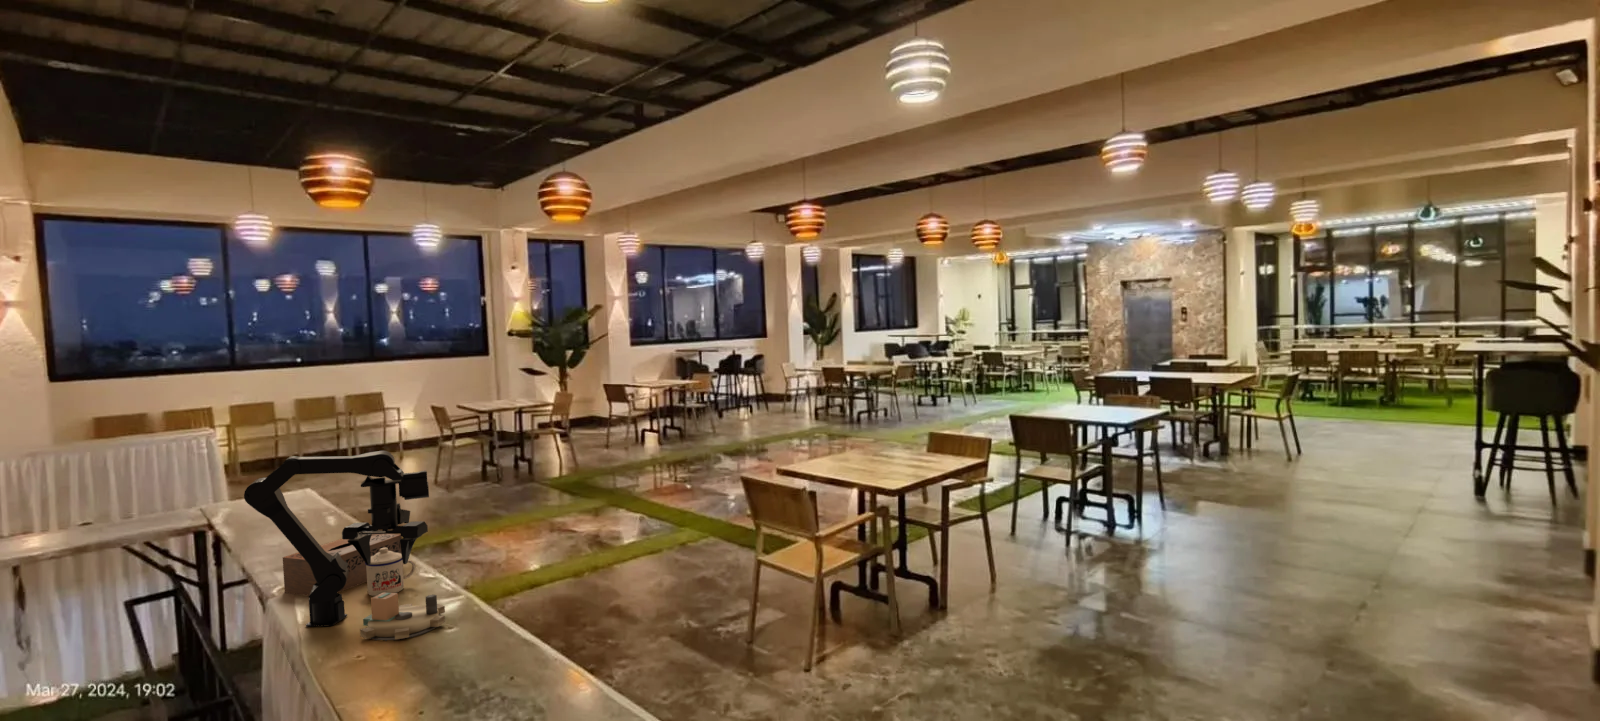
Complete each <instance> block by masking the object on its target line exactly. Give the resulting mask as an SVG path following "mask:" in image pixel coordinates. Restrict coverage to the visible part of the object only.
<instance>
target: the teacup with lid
mask: <svg viewBox="0 0 1600 721" xmlns="http://www.w3.org/2000/svg"><path fill="white" fill-rule="evenodd" d="M365 564H366V563H365ZM407 564H411V566H412V567H411V571H410V572H409V573H408V574H405V575H404V564H403V560H402V554H400V553H395V552H392V551H388V548H381V549H380V552H378V553H376V554H375V555H374V556H371V564H370V565H366V571H367V582H366V583H367V584H366V585H367V586H366V587H367V594H368V595H369V596H372V597H375V596H377V595H379V594H381V593H383V592H386V593H399V592H401V591H402V590H403V589H404V587H405V583H404V582H405V581H404V580H405V579H409V578H410V577H412V576H413V575H414V573H415V571H416V566H417V565H416V563H415V562H414V561H413V560H411V559H408V562H407Z"/></svg>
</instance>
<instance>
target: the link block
mask: <svg viewBox="0 0 1600 721" xmlns="http://www.w3.org/2000/svg"><path fill="white" fill-rule="evenodd" d="M370 606H371V609H370V610H371V614H372V619H376V620H388V619H390V618H392V617H394V616H396V615H397V614H399V592H397V593H386V592H383V593H381V594H379V595H377V596H372V597H370Z"/></svg>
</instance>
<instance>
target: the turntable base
mask: <svg viewBox="0 0 1600 721" xmlns="http://www.w3.org/2000/svg"><path fill="white" fill-rule="evenodd" d="M434 628H435V629H436V628H437V627H429V628H427V629H424V630H422V631H419V632H416V633H412V634H409V637H407V639H411V638H415V637H418V636H421V635H424V634H427V633H429V632H431V631H433V630H434ZM372 639H374V640H373V641H377V640H385V641H384V642H388V641H387V640H393V641H400V639H396V640H395V637H378V636H374V637H371V638H370V640H372ZM401 640H406V639H405V638H401Z"/></svg>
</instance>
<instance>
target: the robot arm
mask: <svg viewBox="0 0 1600 721" xmlns="http://www.w3.org/2000/svg"><path fill="white" fill-rule="evenodd" d="M395 462H396V460H395V456H394V455H393V454H392V453H391V452H390V451H387V450H379V451H371V452H365V453H362V454H357V455H349V456H345V455H344V456H343V455H342V456H339V455H338V456H335V455H334V456H297V455H292V456H289V457H287V458H286V459H285V460H284V461H283V462H282V464H281V465H280V466H278V467H276V469H274V470H273V471H272V472H270V474H268V475H267V476H266V477H259V478H257V479H255V480H253V482H251V483H250V484H249V485H248V486H247V487H246V489H245V490H244V494H243V498H244V501H245V503H247V504H248V505H249V506H250V507H251V508H253V509H254V510H255V511H257V513H259V514H261V515H263V516H265V517H266V518H268V519H270V520H271V522H272V523H273V524H274V525H275V526H276V528H277V529H278V530H279V531H280V532H281V534H283V536H284V537H285V538H286V540H288V541H289V543H291V545H292V546H293V547H294V549H295V550H296V551H297V553H298V552H299V553H300V554H301V555H302V557H303V558H304V559H305V560H306V561H307V563H308V564H309V565H310V568H311V570H312V573H313V576H314V578H315V580H316V583H315V584H314V585H313V587H312V590H311V592H310V594H309V596H308V609H309V611H308V612H309V622H307V623H306V624H305V627H306V628H307V627H333V626H334V625H336V624H337V623H339V622H340V621H343V619H345V618H347V617H348V614H347V613H345V612H346V611H345V601H344V600H343V594H342V593H340V592H339V593H337V592H338V591H340V590H341V589H342V588H343V587H344V586H345V584H346V581H347V578H348V574H349V571H348V568H347V566H348V563H346V562H345V561H344V560H343V559H342V558H341V556H340V554H339V553H338V552H337V553H336V554H335V555H333V556H332V555H330V554H329V553H327V552H326V551H324V549H323V548H322V547H321V546H320V543H319V542H318V541H317V540H316V538H315V537H314V536H313V535H312V534H311V533H310V531H309V530H308V529H307V528H306V527H305V525H304V524H303V523H302V522H301V521H300V519H299V518H298V517H297V516H296V515H295V513H294V512H293V510H291V509H290V508H289V506H288V504H287V501H286V498H285V496H284V494H283V492H282V490H281V487H282V486H284V484H286V483H288V481H289V480H290V479H291V478H292V477H294V476H295V475H309V474H310V475H313V474H348V473H349V474H358V475H362V476H366V478H365V479H364V480H363V481H362V482H361V483H360V487H361V488H366V487H367V488H368V487H369V497H370V499H369V500H370V508H368V509H367V514H370V519H371V524H370V523H369V522H367V521H366V522H353V523H352V524H349V525H346V526H344V527H343V529H342V531H341V539H349V540H347V541H348V543H351V544H352V545H353V546H354V547H355V548H356V550H357V551H358V552H359V554H360V555H361V557H362V558H363V560H364V562H365V563H366V565H370V564H371V553H370V539H371V535H372V534H398V535H401V536H402V539H400V545H401V553H402V560H403V565H407V564H408V563H407V562H408V560H410V559H409V558H410V555H411V552H412V549H413V547H414V545H415V542H416V540H417V539H419V538H420V537H422V536H423V535H424V534H426V533H428V531H429V529H428V524H427V522H425V521H424V520H423V521H422V520H419V521H415V520H414V521H410V518H411V510H407V509H402V508H401V504H400V503H399V502H397V501H398V499H397V484H398V496H399V497H401V499H402V498H403V499H404V501H407V500H417V499H427V498H430V491H429V487H430V485H429V481H428V471H427V470H419V471H416V472H414V471H413V472H406V473H404V471H403V470H402V469H401V467H399V465H397V464H396V463H395ZM373 477H374V478H373ZM386 478H387V479H386ZM402 524H404V525H402Z"/></svg>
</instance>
